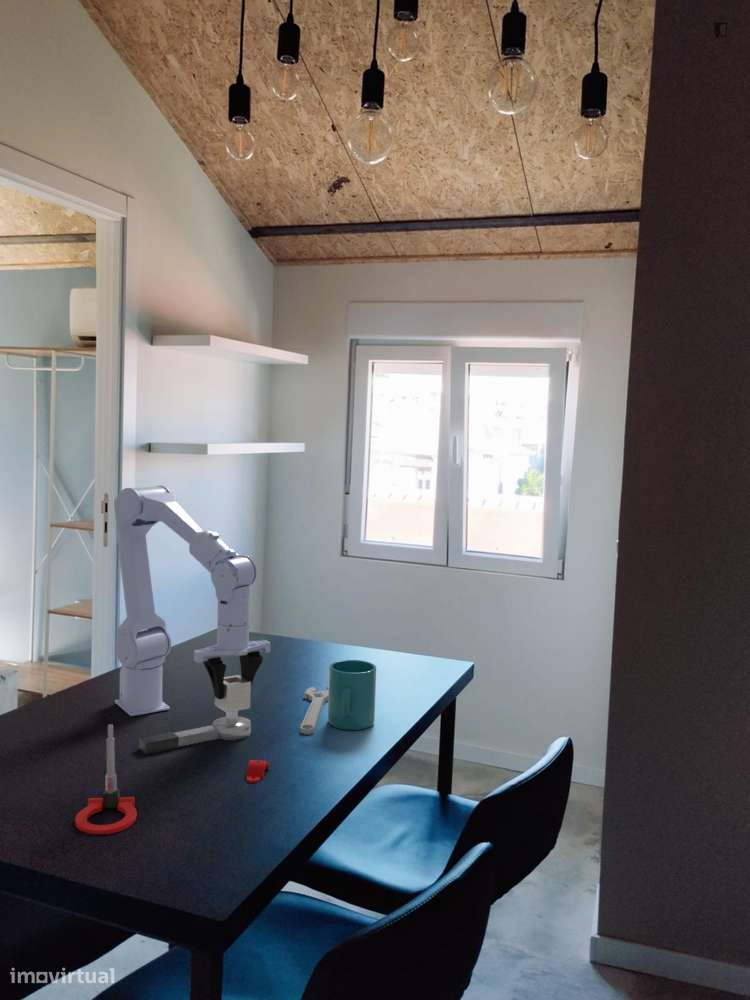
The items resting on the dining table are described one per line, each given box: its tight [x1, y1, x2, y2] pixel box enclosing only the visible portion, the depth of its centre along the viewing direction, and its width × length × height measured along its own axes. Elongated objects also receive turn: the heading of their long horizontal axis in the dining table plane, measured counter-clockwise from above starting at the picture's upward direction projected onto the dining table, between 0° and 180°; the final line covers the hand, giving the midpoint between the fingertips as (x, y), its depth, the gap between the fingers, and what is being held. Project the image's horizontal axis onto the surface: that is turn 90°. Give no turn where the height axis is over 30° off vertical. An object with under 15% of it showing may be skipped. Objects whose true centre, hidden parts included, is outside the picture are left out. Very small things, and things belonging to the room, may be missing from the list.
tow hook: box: [74, 723, 138, 835], centre depth 122 cm, size 8×13×9 cm
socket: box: [214, 674, 252, 714], centre depth 156 cm, size 5×5×5 cm
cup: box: [327, 659, 377, 731], centre depth 162 cm, size 9×12×11 cm
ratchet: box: [138, 710, 252, 755], centre depth 153 cm, size 7×20×4 cm, turn 126°
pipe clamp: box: [245, 759, 270, 784], centre depth 140 cm, size 8×3×2 cm, turn 173°
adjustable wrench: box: [300, 685, 329, 735], centre depth 170 cm, size 25×6×2 cm, turn 172°
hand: (232, 695), depth 156 cm, fingers closed on socket, 5 cm apart
